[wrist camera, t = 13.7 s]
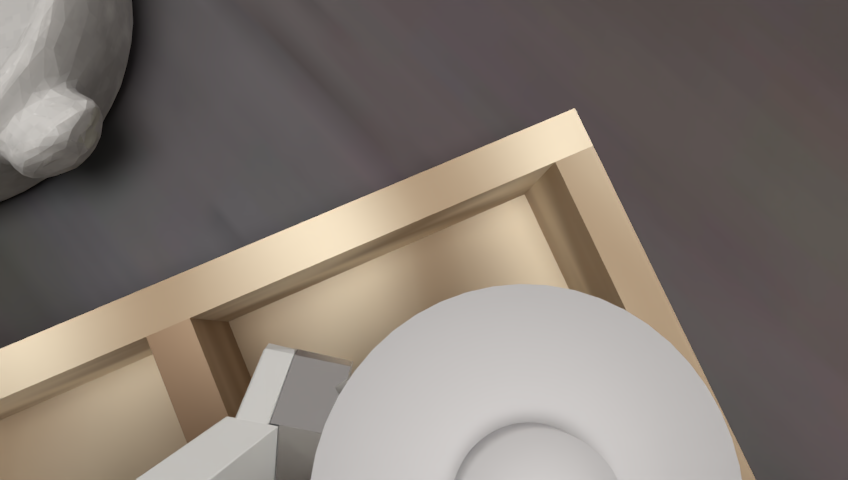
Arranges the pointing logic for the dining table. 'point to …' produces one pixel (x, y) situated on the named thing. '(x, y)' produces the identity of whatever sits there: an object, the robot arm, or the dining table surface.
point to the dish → (57, 83)
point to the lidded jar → (525, 397)
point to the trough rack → (321, 302)
